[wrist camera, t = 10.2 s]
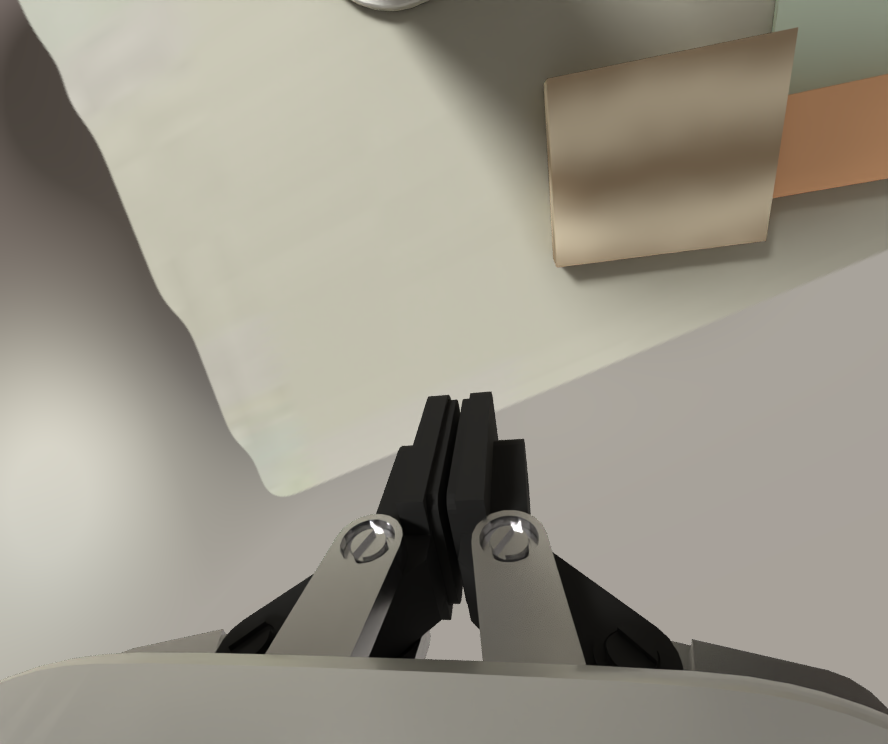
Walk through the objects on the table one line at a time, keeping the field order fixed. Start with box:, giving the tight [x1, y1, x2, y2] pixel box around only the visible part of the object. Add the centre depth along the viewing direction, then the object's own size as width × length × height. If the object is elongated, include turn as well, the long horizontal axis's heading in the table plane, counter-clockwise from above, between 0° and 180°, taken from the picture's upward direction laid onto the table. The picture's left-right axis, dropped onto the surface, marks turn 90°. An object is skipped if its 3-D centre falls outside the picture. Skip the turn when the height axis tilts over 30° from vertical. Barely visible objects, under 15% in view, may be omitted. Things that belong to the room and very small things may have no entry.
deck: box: [544, 27, 798, 267], centre depth 31 cm, size 12×14×3 cm
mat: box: [772, 0, 888, 95], centre depth 28 cm, size 12×12×1 cm
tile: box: [773, 74, 888, 198], centre depth 29 cm, size 6×9×2 cm, turn 101°
